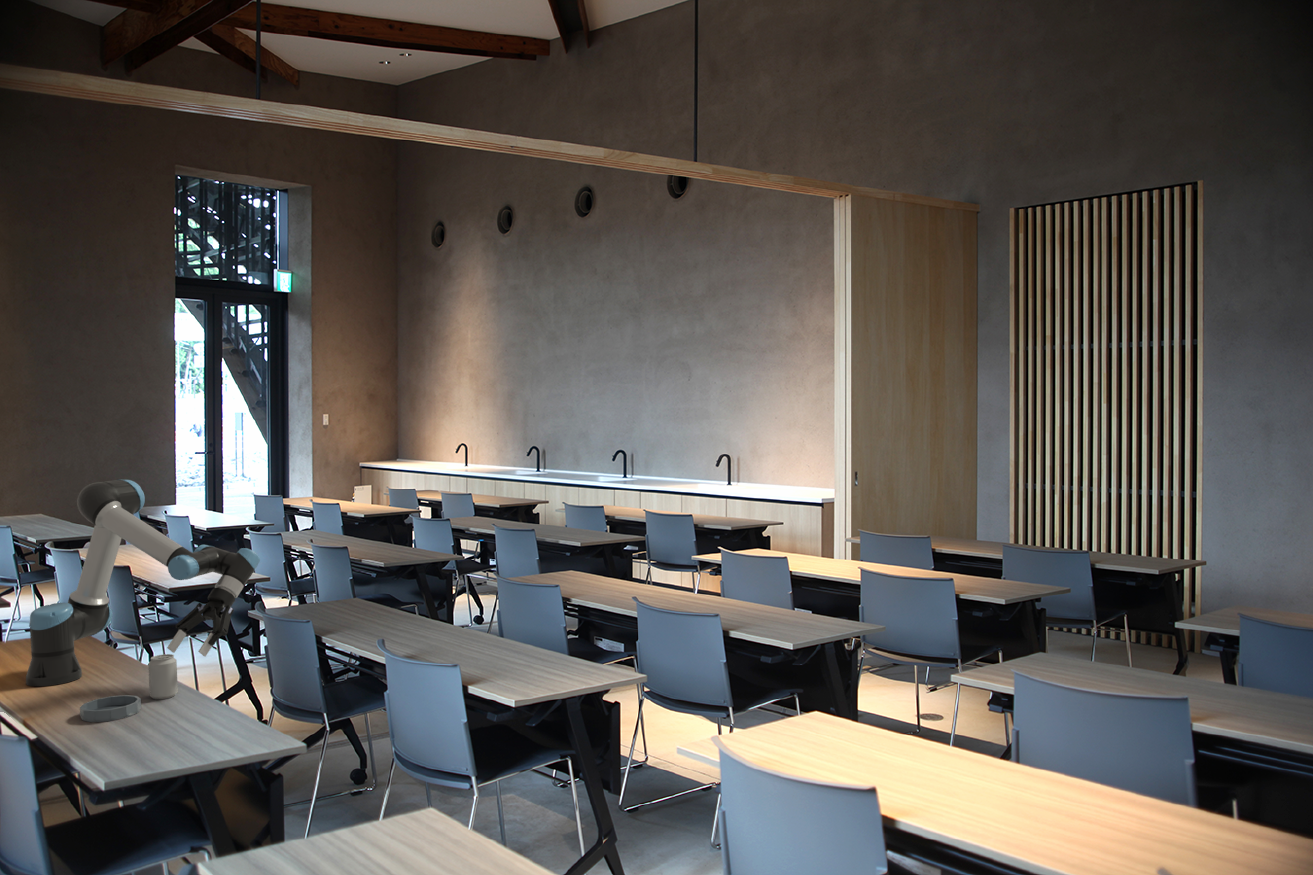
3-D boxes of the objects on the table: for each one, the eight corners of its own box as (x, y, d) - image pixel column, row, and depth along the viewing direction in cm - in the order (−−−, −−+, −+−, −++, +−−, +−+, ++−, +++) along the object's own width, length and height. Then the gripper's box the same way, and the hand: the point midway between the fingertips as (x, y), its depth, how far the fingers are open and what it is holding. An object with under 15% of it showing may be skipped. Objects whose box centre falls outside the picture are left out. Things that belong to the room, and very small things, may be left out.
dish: (75, 714, 276) (74, 703, 276) (131, 702, 286) (130, 692, 286) (89, 725, 266) (88, 714, 266) (147, 713, 276) (146, 702, 276)
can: (170, 699, 289) (168, 659, 288) (144, 700, 289) (142, 659, 288) (182, 692, 296) (181, 652, 296) (158, 692, 296) (156, 653, 296)
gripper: (260, 602, 308) (223, 662, 295) (204, 597, 319) (166, 655, 306) (246, 588, 303) (207, 648, 290) (189, 584, 314) (149, 642, 301)
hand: (186, 652), depth 298 cm, fingers open, 13 cm apart
